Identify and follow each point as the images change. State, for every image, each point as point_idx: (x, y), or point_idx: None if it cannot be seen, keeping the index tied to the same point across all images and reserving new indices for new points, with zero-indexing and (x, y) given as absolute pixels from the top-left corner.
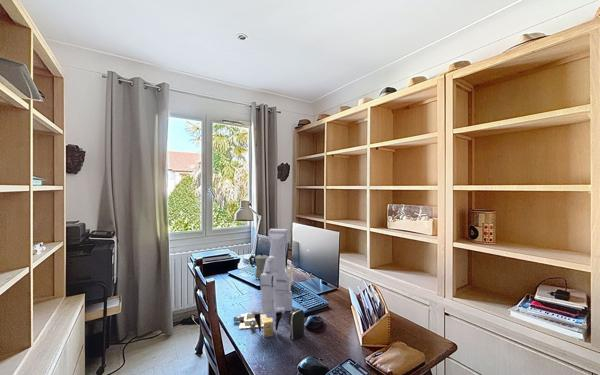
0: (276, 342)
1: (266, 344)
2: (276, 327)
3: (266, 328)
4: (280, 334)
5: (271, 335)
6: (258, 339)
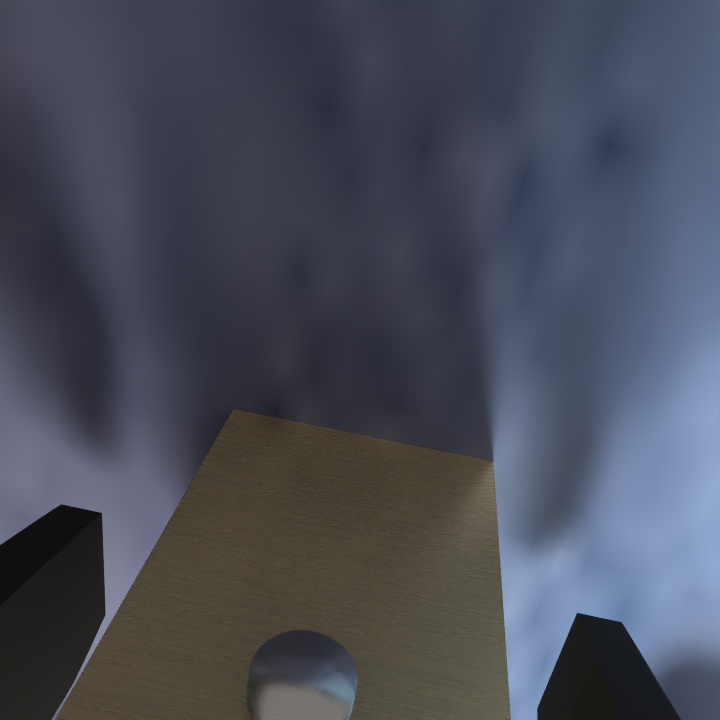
0: (165, 23)
1: (534, 16)
2: (20, 568)
3: (398, 629)
4: (27, 391)
5: (273, 424)
6: (694, 391)
